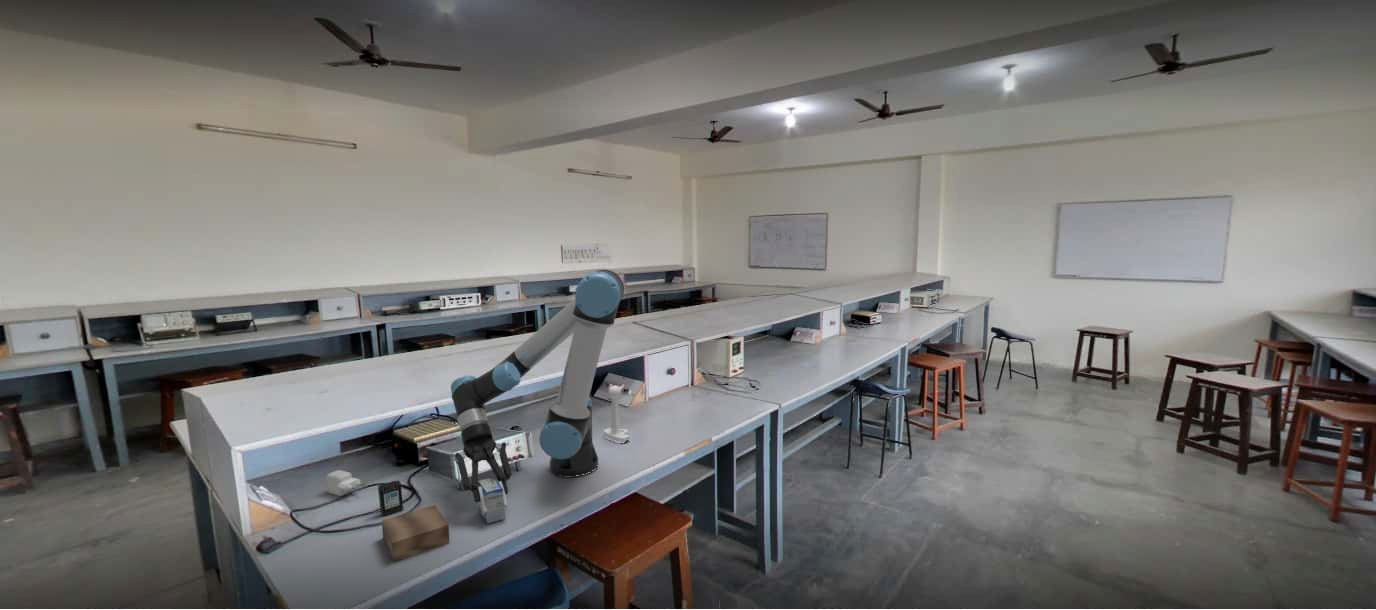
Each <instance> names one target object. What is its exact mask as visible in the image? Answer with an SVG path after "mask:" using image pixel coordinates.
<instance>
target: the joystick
mask: <svg viewBox="0 0 1376 610" xmlns="http://www.w3.org/2000/svg"><path fill="white" fill-rule="evenodd" d="M621 394H622V389H621V387H620V386H619V385H611V386H610V387H609V389H608V395H609V397H610V398H611V407H610V408H611V413H610V427H608V428H605V429H603V431H602V432H603V433H602V434H603V435H604V436H606V437H608V438H610V439H612V440H616V441H621V442H624V441H626V442H628V441H627V440H629V439H630V440H631V438H630V437H631V436H630V435H629V434H628V433H629V430H628V429H626V428H621V427H620V425H621V424H620V409H619V397H620V396H621Z"/></svg>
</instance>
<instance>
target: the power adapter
mask: <svg viewBox="0 0 1376 610" xmlns="http://www.w3.org/2000/svg"><path fill="white" fill-rule="evenodd" d="M352 476H353V475H352V473H351V472H348V471H345V470H341V469H337V470H335V471H332V472H330V473H328V474H326V488H327V492H328V494H331V495H335V496H338V497H343V496H345V495H347V494H350V493H351V492H353V490H354V491H356V490H357V487H358V486H362V487H364V486H365V485H366V483H364V482H361V481H362V480H360V478H355V477H352Z"/></svg>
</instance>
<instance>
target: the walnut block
mask: <svg viewBox="0 0 1376 610" xmlns="http://www.w3.org/2000/svg"><path fill="white" fill-rule="evenodd" d="M381 528H382V539H383V542H384V543H385V546H386V548H387V551H388V553H389V555H390V557H391V559H392V563H395V562H398V561H401V560H405V559H407V558H410V557H414V556H416V555H418V554H422V553H424V552H427V551H431V550H433V549H436V548H439V547H443V546H445V545H448V544H450V528H449V523H448V522H447V520H446V519H445V518H444V516H443V514H442V513H441V512H440V510H439V508H437V505H436V504H432V505H429V506H425V507H424V508H420V509H416V510H413V511H409V512H406V513H402V514H398V515H396V516H392V517H388V518H386V519H383V520H381Z"/></svg>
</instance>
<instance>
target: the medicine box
mask: <svg viewBox="0 0 1376 610" xmlns="http://www.w3.org/2000/svg"><path fill="white" fill-rule="evenodd" d="M498 482H499V481H498V480H497V479H495V477H487V478H484V479H481V480H478V487H480V486H481V487H482V491H483V495H484V499H485V503H486V507H487V512H486V514H485V515H482V511H481V507H480V503H479V502H477V503H478V505H477V506H478V512H479V514H480V515H481V517H483V520H484V521H485V522H486V523H487V524H493V523H495V522H498V521H502V520H504V519H505V509H504V498H503V488H502V487H501V486H500V485H499V483H498Z"/></svg>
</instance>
